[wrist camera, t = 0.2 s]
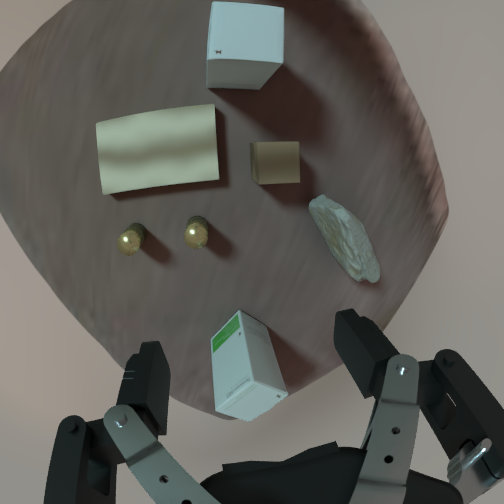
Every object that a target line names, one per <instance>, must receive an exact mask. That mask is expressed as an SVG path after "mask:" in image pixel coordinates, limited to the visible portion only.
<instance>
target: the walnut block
mask: <svg viewBox="0 0 504 504" xmlns="http://www.w3.org/2000/svg"><path fill="white" fill-rule="evenodd" d="M250 157H251V177H252V180H254V181H255V182H256V183H258V184H259V185H260V184H277V183H300V157H299V142H256V143H250Z"/></svg>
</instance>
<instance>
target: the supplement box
mask: <svg viewBox="0 0 504 504" xmlns="http://www.w3.org/2000/svg"><path fill="white" fill-rule="evenodd" d="M283 60H284V8H281V7H274V6H267V5H258V4H246V3H234V2H213V3H212V7H211V15H210V23H209V33H208V45H207V88H235V89H253V90H260V89H261V87H262V86H263V85H264V84H265V83H266V82H267V81H268V79H269V78H270V77H271V76H272V75H273V74H274V73H275V71H276V70H277V69H278V68H279V67H280V66H281V65H282V64H283Z"/></svg>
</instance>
